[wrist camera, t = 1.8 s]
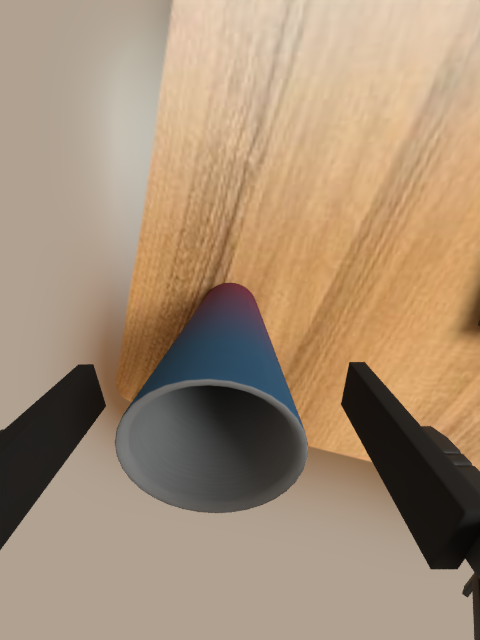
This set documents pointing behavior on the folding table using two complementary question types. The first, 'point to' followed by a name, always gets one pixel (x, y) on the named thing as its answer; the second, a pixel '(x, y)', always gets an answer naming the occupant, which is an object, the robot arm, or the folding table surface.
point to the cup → (215, 414)
